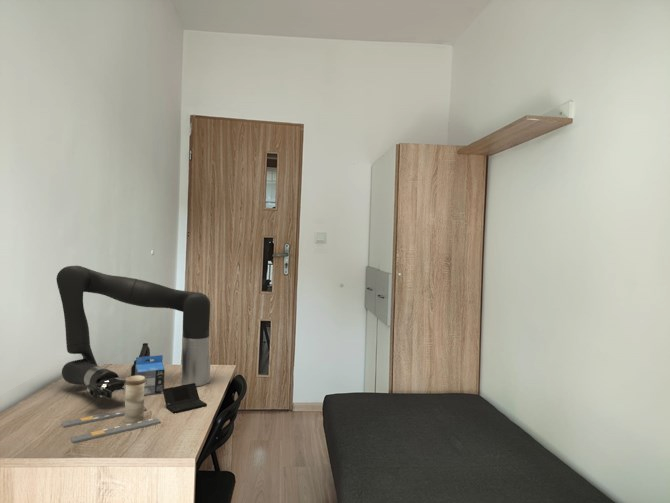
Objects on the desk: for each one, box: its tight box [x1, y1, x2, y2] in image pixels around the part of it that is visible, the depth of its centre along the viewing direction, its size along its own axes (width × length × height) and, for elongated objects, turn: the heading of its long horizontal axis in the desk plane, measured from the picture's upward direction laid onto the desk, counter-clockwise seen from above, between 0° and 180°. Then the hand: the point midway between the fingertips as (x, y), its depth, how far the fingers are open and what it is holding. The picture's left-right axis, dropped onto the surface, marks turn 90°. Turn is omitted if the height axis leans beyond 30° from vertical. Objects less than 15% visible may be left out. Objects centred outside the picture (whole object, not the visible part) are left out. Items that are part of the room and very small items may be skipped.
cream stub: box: [124, 375, 145, 423], centre depth 130 cm, size 5×5×12 cm
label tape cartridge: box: [135, 354, 166, 396], centre depth 153 cm, size 9×4×12 cm, turn 123°
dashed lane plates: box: [61, 406, 162, 444], centre depth 126 cm, size 22×15×1 cm
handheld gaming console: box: [162, 383, 208, 415], centre depth 143 cm, size 12×7×10 cm
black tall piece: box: [130, 342, 151, 376], centre depth 167 cm, size 17×3×30 cm
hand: (125, 392), depth 134 cm, fingers open, 8 cm apart
